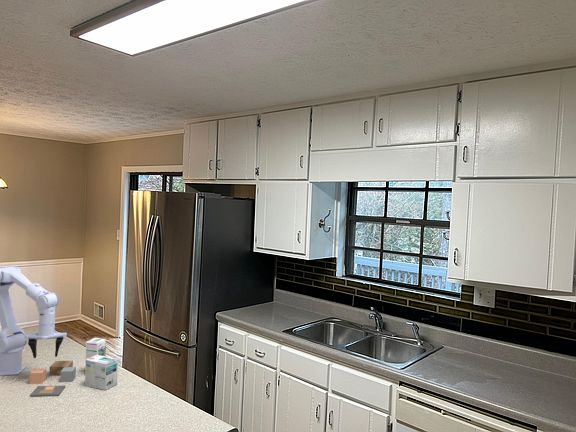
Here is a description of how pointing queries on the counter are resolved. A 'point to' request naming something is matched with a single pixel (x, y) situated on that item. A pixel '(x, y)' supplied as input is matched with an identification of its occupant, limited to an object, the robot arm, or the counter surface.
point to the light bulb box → (101, 372)
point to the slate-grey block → (68, 374)
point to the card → (47, 391)
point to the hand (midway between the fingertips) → (45, 356)
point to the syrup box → (95, 347)
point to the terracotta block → (37, 376)
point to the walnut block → (59, 367)
